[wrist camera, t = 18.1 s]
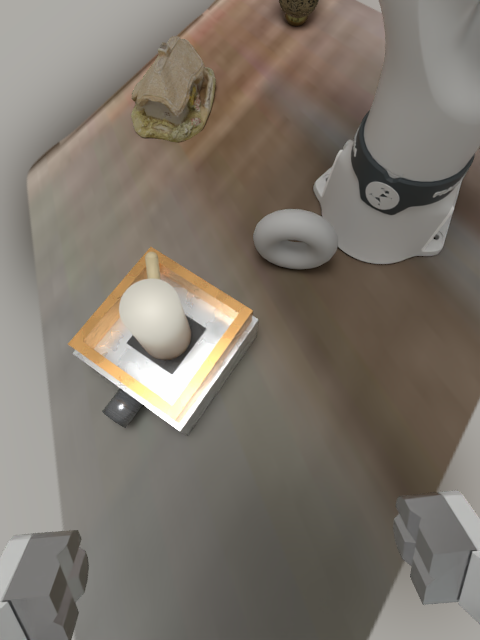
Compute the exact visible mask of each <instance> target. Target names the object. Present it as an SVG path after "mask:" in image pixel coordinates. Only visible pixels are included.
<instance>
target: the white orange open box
mask: <svg viewBox="0 0 480 640" xmlns="http://www.w3.org/2000/svg"><path fill="white" fill-rule="evenodd" d="M148 252H155V253H156V254H157V255H158V260H159V269H160V277H161V280H163V281H165V282H167V283H168V284H170V285H171V286H172V287H173V288H174V289H175V290H176V292H177V294H178V296H179V299H180V302H181V304H182V307H183V310H184V313H185V315H186V318H187V321H188V323H189V326H190V329H191V341H190V344H189V346H188V348H187V349H186V350H185V352H184V353H183V354H181V355H180V356H178V357H176V358H174V359H170V360H160V359H157V358H154V357H152V356H151V355H150V354H148V353H147V351H146V350H145V349H144V348H143V347H142V345H141V344H140V343H139V342H138V340H137V339H136V338H135V337H134V336H133V334H132V333H131V332H130V331H129V330H128V328H127V327H126V326H125V325H124V323H123V322H122V320H121V318H120V314H119V304H120V300H121V297H122V296H123V294H124V292H125V291H126V290H127V289H128V288H129V287H130V286H131V285H133V284H134V283H136V282H138V281H140V280H144V279H148V278H147V270H146V262H145V256H146V254H147V253H148ZM252 315H253V310H251V309H249V308H248V307H246V306H245V305H243V304H241V303H240V302H238V301H237V300H235V299H233V298H232V297H230V296H229V295H227V294H225V293H224V292H222V291H221V290H219V289H217V288H216V287H214V286H213V285H211V284H210V283H208V282H206V281H205V280H203V279H202V278H200V277H198V276H197V275H195V274H194V273H192V272H190V271H189V270H187V269H186V268H184V267H182V266H181V265H179V264H178V263H176V262H174V261H173V260H171V259H170V258H168V257H166V256H165V255H163V254H162V253H160V252H158V251H157V250H155V249H154V248H152V247H150V248H149V250H148V251H147V252H146V253H145V254H144V255H143V257H142V258H141V259H140V260H139V261H138V263H137V264H136V265H135V266H134V267H133V268H132V270H131V271H130V272H129V273H128V274H127V275H126V277H125V278H124V279H123V280H122V281H121V282H120V284H119V285H118V286H117V287H116V288H115V289H114V291H113V292H112V293H111V294H110V295H109V296H108V298H107V299H106V300H105V301H104V302H103V304H102V305H101V306H100V307H99V308H98V309H97V311H96V312H95V313H94V314H93V315H92V316H91V318H90V319H89V320H88V321H87V322H86V323H85V325H84V326H83V327H82V328H81V329H80V330H79V332H78V333H77V334H76V335H75V336H74V337H73V339H72V340H71V341H70V342H69V343H68V345H70V346H71V347H73V348H74V349H75V351H74V352H73V354H74V355H75V356H77V357H78V358H80V359H81V360H82V361H84V362H85V363H86V364H88V365H89V366H91V367H92V368H93V369H95V370H96V371H97V372H99V373H100V374H102V375H103V376H104V377H106V378H107V379H109V380H110V381H111V382H113V383H114V384H115V385H117V386H118V387H120V389H119V391H118V392H117V393H116V394H115V396H114V397H113V398H112V400H111V401H110V402H109V403H108V405H107V406H106V407H105V409H104V410H103V411H102V412H103V413H104V414H105V415H107V416H108V417H109V418H110V419H112V420H113V421H115V422H116V423H118V424H119V425H121V426H123V427H124V428H126V427H127V425H128V424H129V423H130V421H131V420H132V419H133V417H134V416H135V415H136V413H137V412H138V411H139V409H140V408H141V407H142V405H144V406H146V407H147V408H149V409H150V410H151V411H153V412H154V413H155V414H157V415H158V416H160V417H161V418H162V419H164V420H165V421H166V422H168V423H169V424H171V425H172V426H173V427H175V428H176V429H177V430H179V431H180V432H182V433H184V434H186V435H187V436H188V434H189V433H190V431H191V430H192V429H193V427H194V426H195V424H196V423H197V421H198V420H199V419H200V417H201V416H202V414H203V413H204V411H205V410H206V408H207V407H208V406H209V404H210V403H211V401H212V400H213V398H214V397H215V395H216V394H217V393H218V391H219V390H220V388H221V387H222V385H223V384H224V383H225V381H226V380H227V378H228V377H229V375H230V374H231V372H232V371H233V370H234V368H235V367H236V365H237V364H238V362H239V361H240V360H241V358H242V357H243V355H244V354H245V352H246V351H247V349H248V348H249V347H250V345H251V344H252V342H253V341H254V339H255V338H256V336H257V328H258V319H257V318H255V317H254V316H252Z"/></svg>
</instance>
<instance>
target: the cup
mask: <svg viewBox="0 0 480 640" xmlns="http://www.w3.org/2000/svg"><path fill="white" fill-rule="evenodd" d="M279 3H280V6H281V8H282V10H283V11H284V12H285V13H286V14H285V17H286V20H287V22H288V23H289V24H290V25H293V26H300V25H302V24H304V23H305V21H306V20H307V17H308V15H309V14H310V13H311V12H312V11H313V10H314V9H315V7H316V5H317V3H318V0H279Z"/></svg>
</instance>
